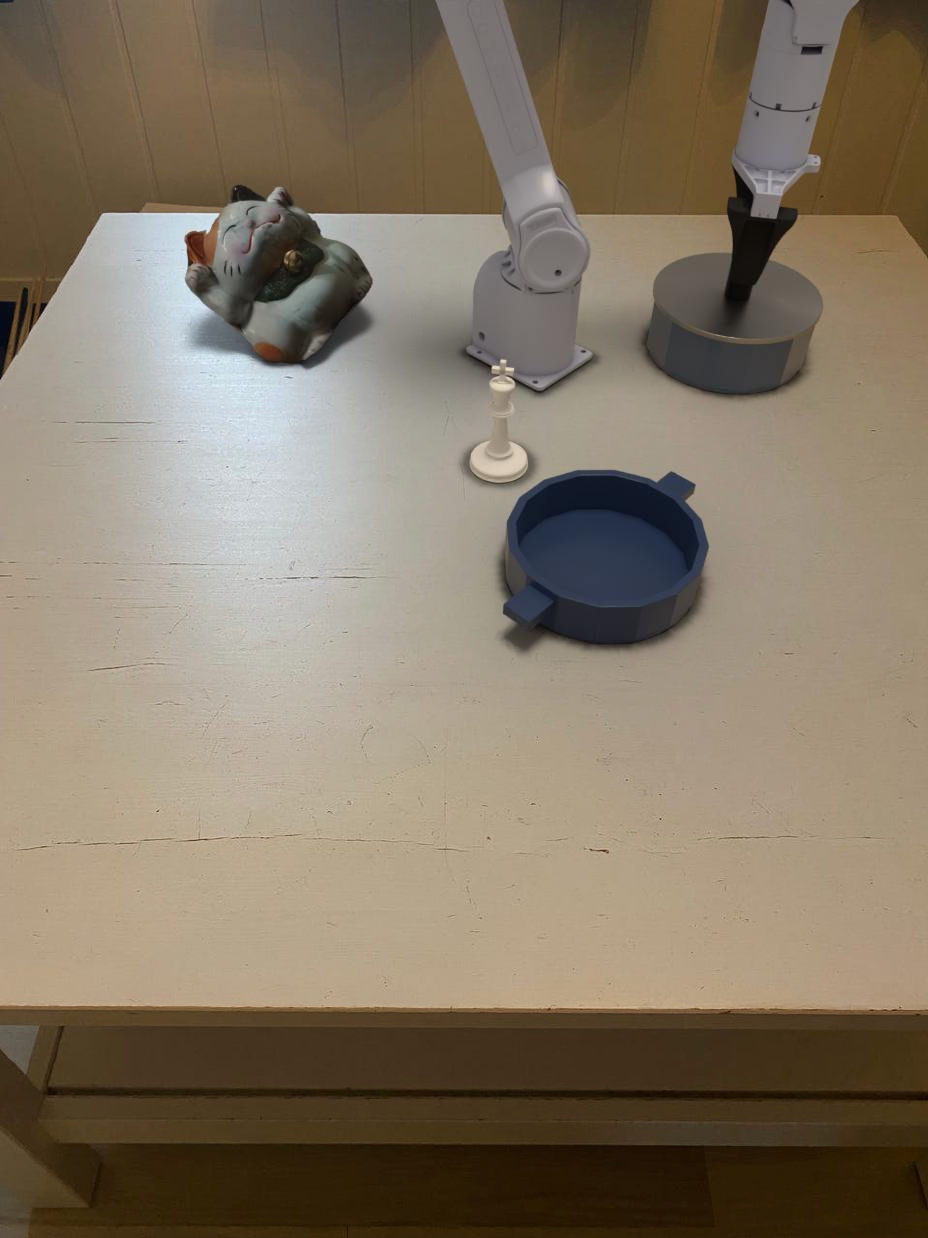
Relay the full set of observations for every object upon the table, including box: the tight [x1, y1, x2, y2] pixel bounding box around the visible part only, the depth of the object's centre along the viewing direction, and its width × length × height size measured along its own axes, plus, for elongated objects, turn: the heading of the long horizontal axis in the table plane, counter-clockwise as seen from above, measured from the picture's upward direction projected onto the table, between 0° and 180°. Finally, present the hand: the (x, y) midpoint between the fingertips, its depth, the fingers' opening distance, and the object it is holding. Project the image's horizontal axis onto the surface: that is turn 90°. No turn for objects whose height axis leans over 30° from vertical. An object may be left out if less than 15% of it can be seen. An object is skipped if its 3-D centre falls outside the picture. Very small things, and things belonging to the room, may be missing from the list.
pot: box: [645, 301, 816, 395], centre depth 89 cm, size 15×15×5 cm
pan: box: [502, 469, 710, 645], centre depth 70 cm, size 14×20×4 cm
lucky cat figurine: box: [183, 184, 374, 364], centre depth 89 cm, size 15×12×14 cm
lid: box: [652, 252, 824, 344], centre depth 86 cm, size 15×15×5 cm
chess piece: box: [469, 359, 529, 484], centre depth 76 cm, size 5×5×10 cm
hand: (744, 260), depth 85 cm, fingers open, 7 cm apart
